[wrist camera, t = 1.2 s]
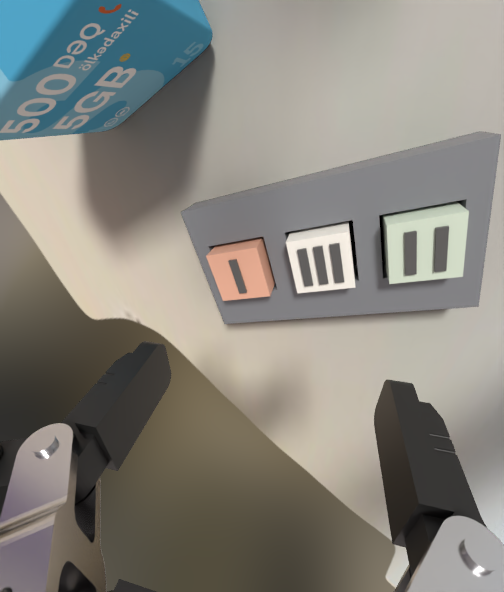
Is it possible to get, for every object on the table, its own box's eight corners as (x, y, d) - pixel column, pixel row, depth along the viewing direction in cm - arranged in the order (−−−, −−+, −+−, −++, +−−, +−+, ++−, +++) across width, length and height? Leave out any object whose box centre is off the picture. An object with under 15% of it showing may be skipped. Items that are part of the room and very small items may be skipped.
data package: (113, 131, 25) (-32, 145, 15) (77, 76, 23) (-111, 51, 14) (221, 37, 20) (102, -35, 10) (184, -44, 18) (-2, -229, 8)
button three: (348, 218, 22) (349, 232, 20) (354, 270, 24) (355, 288, 22) (291, 229, 24) (285, 243, 21) (301, 276, 26) (297, 294, 23)
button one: (264, 234, 25) (255, 248, 22) (276, 279, 27) (269, 297, 24) (218, 242, 26) (205, 257, 24) (233, 284, 29) (222, 302, 26)
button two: (453, 199, 20) (470, 212, 17) (449, 258, 22) (463, 278, 19) (381, 212, 21) (387, 226, 19) (384, 266, 24) (389, 285, 21)
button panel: (480, 131, 19) (501, 134, 16) (464, 287, 24) (478, 306, 22) (195, 203, 26) (180, 212, 24) (233, 307, 32) (224, 323, 30)
